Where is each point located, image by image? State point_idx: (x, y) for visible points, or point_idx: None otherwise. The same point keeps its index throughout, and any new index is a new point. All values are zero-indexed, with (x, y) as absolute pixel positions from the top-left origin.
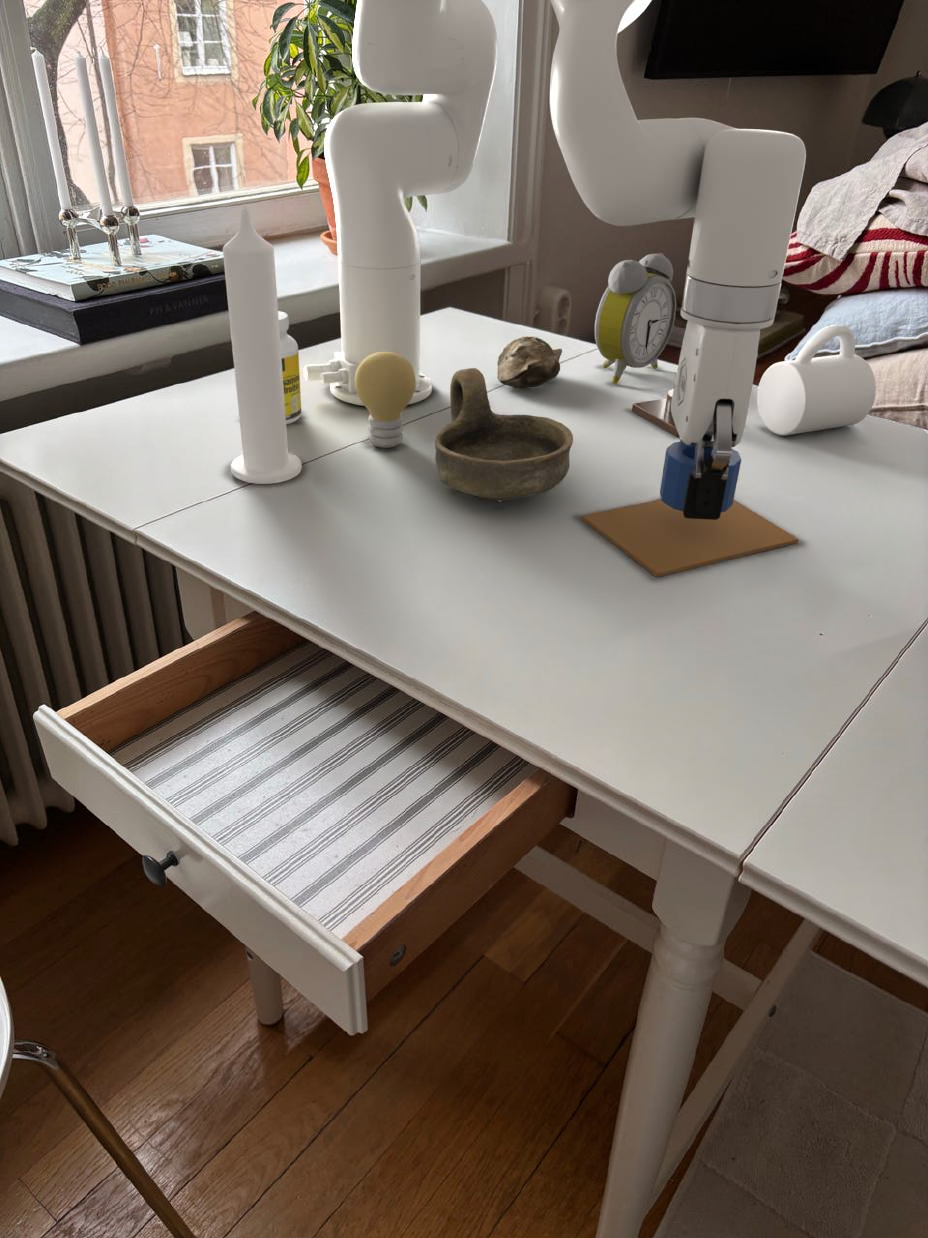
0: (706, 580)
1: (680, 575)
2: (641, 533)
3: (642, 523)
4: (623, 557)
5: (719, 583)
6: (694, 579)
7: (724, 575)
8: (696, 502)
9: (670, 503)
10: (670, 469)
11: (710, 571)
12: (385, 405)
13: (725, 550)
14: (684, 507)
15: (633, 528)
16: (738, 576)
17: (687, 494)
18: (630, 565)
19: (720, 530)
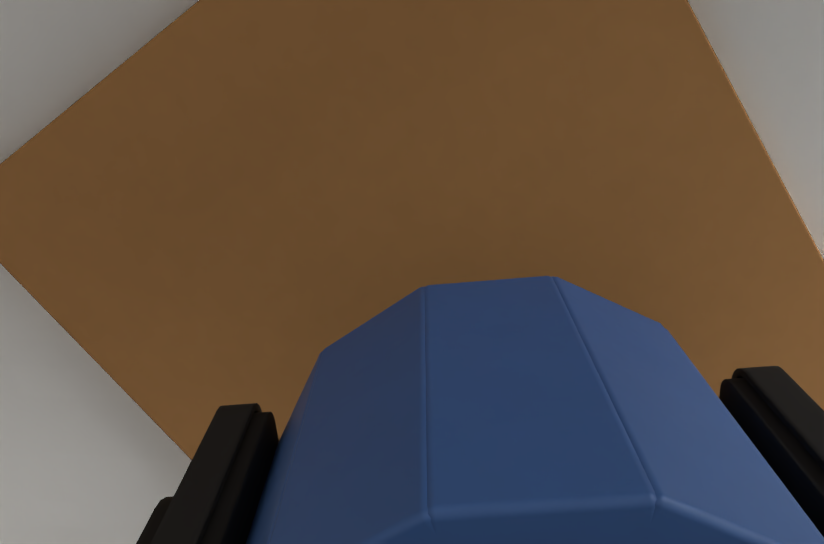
0: (31, 405)
1: (29, 307)
2: (360, 135)
3: (485, 142)
4: (104, 35)
5: (27, 450)
6: (18, 361)
7: (103, 472)
8: (142, 533)
9: (343, 342)
10: (378, 451)
11: (117, 425)
12: None
13: None
14: (207, 434)
15: (412, 90)
16: (116, 517)
17: (174, 502)
18: (30, 74)
19: None
